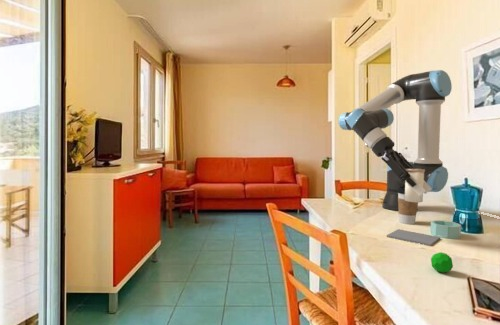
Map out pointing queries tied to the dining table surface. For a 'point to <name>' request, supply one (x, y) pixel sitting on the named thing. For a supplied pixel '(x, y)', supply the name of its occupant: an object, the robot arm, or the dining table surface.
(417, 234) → the mat
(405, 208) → the coffee cup
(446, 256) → the polyhedron
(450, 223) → the bowl
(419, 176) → the tumbler
